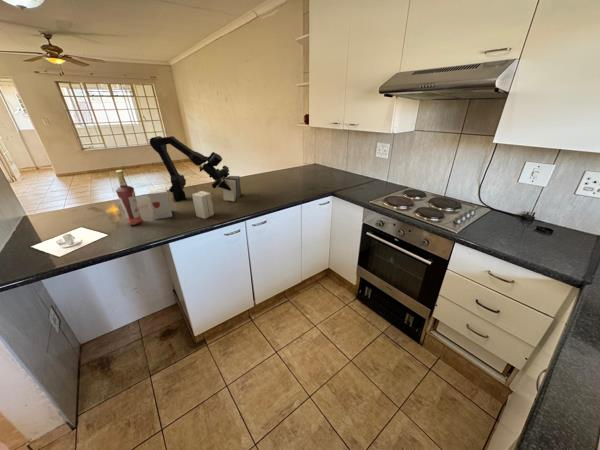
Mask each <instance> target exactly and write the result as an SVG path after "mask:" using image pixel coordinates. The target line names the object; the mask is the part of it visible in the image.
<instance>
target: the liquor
mask: <svg viewBox="0 0 600 450" xmlns="http://www.w3.org/2000/svg"><path fill="white" fill-rule="evenodd" d="M115 174H116V176H117V178H118V183H119V187H117V188H116V190H115V193H116V195H117V198H118V200H119V202H120V205H121V207H122V209H123V212H124V215H125V217H126V219H127V224H128V225H130V226H139V225H141V223H142V222H143V218H142V215H141V212H140V208H139V205H138V200H137V196H136V193H135V189H134V187H133V186H131V185H128V183H127V181H126V178H125V176H124V171H123V169H117V170H115Z"/></svg>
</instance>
